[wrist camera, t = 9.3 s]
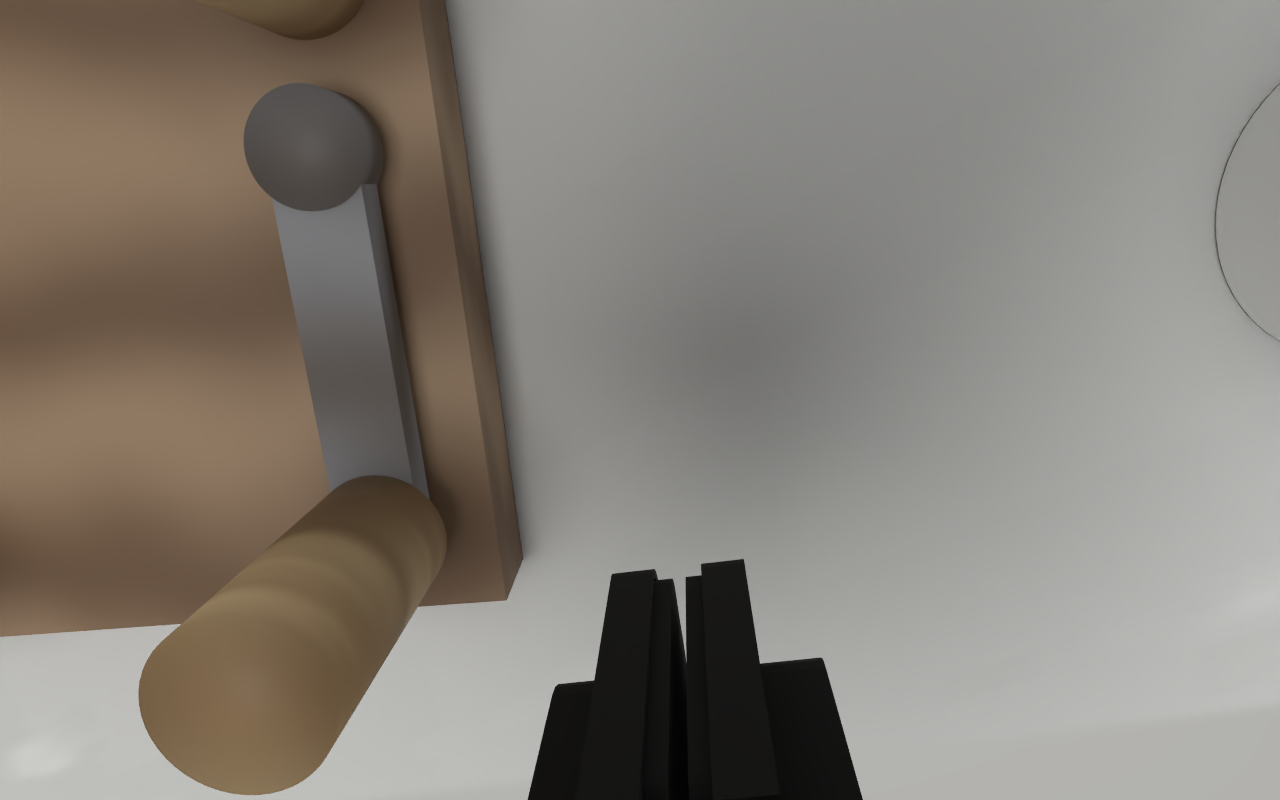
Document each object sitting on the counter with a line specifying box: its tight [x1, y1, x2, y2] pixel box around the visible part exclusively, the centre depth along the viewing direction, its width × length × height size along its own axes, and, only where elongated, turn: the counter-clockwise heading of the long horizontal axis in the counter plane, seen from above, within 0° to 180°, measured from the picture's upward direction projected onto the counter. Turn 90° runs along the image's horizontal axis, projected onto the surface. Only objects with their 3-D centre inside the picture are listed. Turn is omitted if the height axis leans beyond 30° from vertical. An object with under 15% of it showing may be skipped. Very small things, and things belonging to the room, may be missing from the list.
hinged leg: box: [139, 83, 447, 795], centre depth 16 cm, size 12×3×8 cm, turn 6°
